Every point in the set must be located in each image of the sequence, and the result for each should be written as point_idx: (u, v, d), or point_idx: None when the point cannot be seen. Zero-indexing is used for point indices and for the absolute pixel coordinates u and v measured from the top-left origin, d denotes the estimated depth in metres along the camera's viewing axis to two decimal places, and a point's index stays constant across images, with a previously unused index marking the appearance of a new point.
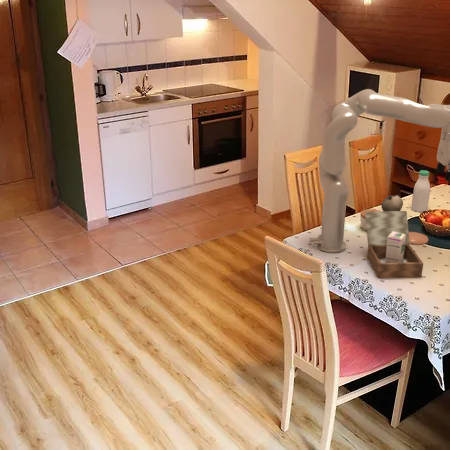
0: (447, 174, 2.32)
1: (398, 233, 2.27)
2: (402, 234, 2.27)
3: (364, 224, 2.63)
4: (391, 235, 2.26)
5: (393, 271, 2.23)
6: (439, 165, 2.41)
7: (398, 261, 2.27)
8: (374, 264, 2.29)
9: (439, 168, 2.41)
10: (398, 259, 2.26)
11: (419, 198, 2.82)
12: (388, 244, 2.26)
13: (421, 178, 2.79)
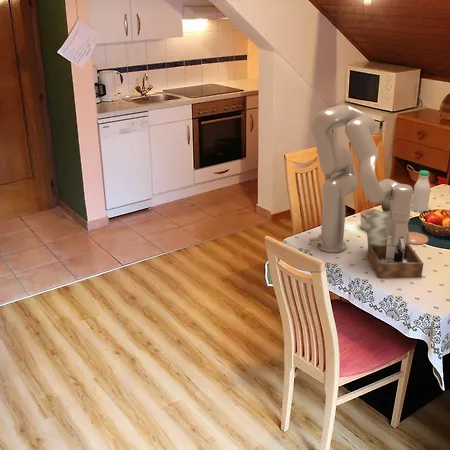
0: (395, 255, 2.25)
1: None
2: None
3: (364, 224, 2.63)
4: None
5: (393, 271, 2.23)
6: None
7: None
8: (374, 264, 2.29)
9: None
10: None
11: (419, 198, 2.82)
12: (388, 244, 2.26)
13: (421, 178, 2.79)
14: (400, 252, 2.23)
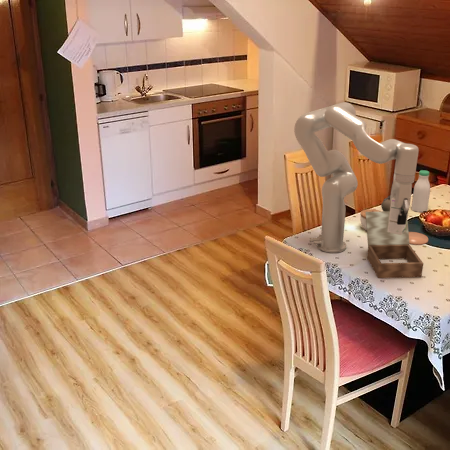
0: (399, 218, 2.19)
1: None
2: None
3: (364, 224, 2.63)
4: None
5: (393, 271, 2.23)
6: None
7: None
8: (374, 264, 2.29)
9: None
10: None
11: (419, 198, 2.82)
12: (391, 206, 2.20)
13: (421, 178, 2.79)
14: (404, 214, 2.17)
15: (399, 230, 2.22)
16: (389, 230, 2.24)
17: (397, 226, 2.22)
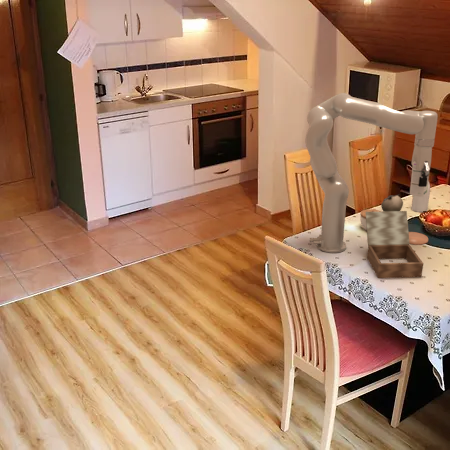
0: (420, 180, 2.36)
1: None
2: None
3: (364, 224, 2.63)
4: None
5: (393, 271, 2.23)
6: None
7: None
8: (374, 264, 2.29)
9: None
10: None
11: (419, 198, 2.82)
12: (413, 170, 2.37)
13: None
14: (425, 176, 2.34)
15: (421, 192, 2.39)
16: (411, 192, 2.41)
17: (419, 188, 2.39)
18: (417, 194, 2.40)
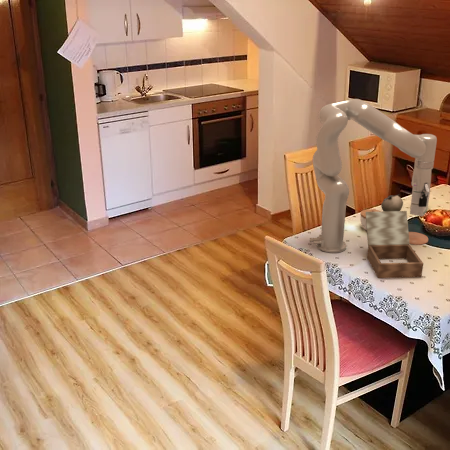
0: (420, 200, 2.44)
1: None
2: None
3: (364, 224, 2.63)
4: None
5: (393, 271, 2.23)
6: None
7: None
8: (374, 264, 2.29)
9: None
10: None
11: None
12: (413, 190, 2.46)
13: None
14: (425, 197, 2.42)
15: (421, 212, 2.47)
16: (411, 212, 2.49)
17: (419, 208, 2.47)
18: (417, 214, 2.48)
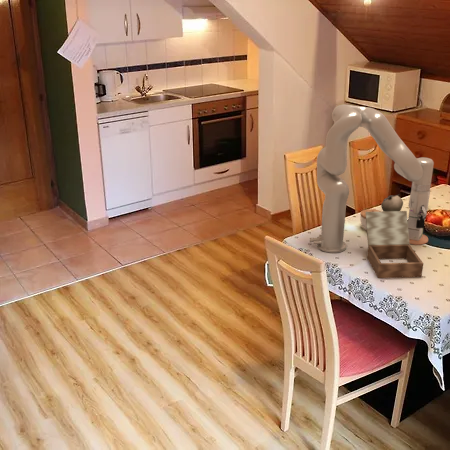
0: (418, 222, 2.47)
1: None
2: None
3: (364, 224, 2.63)
4: None
5: (393, 271, 2.23)
6: None
7: (419, 231, 2.51)
8: (374, 264, 2.29)
9: None
10: (419, 229, 2.50)
11: None
12: (410, 216, 2.50)
13: None
14: (422, 219, 2.45)
15: (417, 237, 2.52)
16: None
17: (415, 233, 2.52)
18: (413, 238, 2.53)
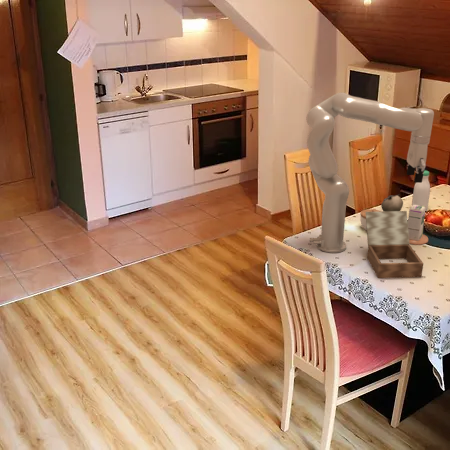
0: (416, 176, 2.38)
1: (418, 206, 2.51)
2: (422, 206, 2.51)
3: (364, 224, 2.63)
4: (412, 207, 2.50)
5: (393, 271, 2.23)
6: (409, 167, 2.47)
7: (419, 231, 2.51)
8: (374, 264, 2.29)
9: (409, 170, 2.47)
10: (419, 229, 2.50)
11: (419, 198, 2.82)
12: (409, 216, 2.50)
13: None
14: (420, 172, 2.36)
15: (417, 237, 2.52)
16: None
17: (415, 233, 2.52)
18: (413, 238, 2.53)
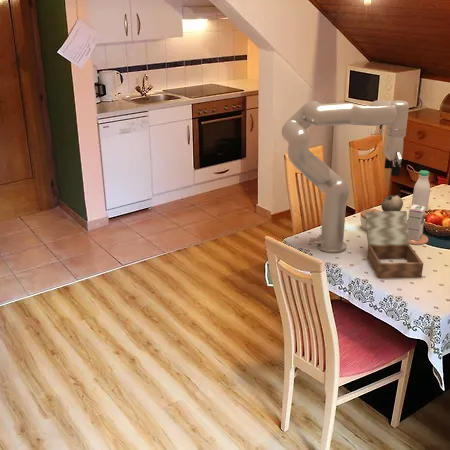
0: (393, 169, 2.35)
1: (418, 206, 2.51)
2: (422, 206, 2.51)
3: (364, 224, 2.63)
4: (412, 207, 2.50)
5: (393, 271, 2.23)
6: (387, 160, 2.44)
7: (419, 231, 2.51)
8: (374, 264, 2.29)
9: (387, 163, 2.44)
10: (419, 229, 2.50)
11: (419, 198, 2.82)
12: (409, 216, 2.50)
13: (421, 178, 2.79)
14: (397, 165, 2.33)
15: (417, 237, 2.52)
16: None
17: (415, 233, 2.52)
18: (413, 238, 2.53)
